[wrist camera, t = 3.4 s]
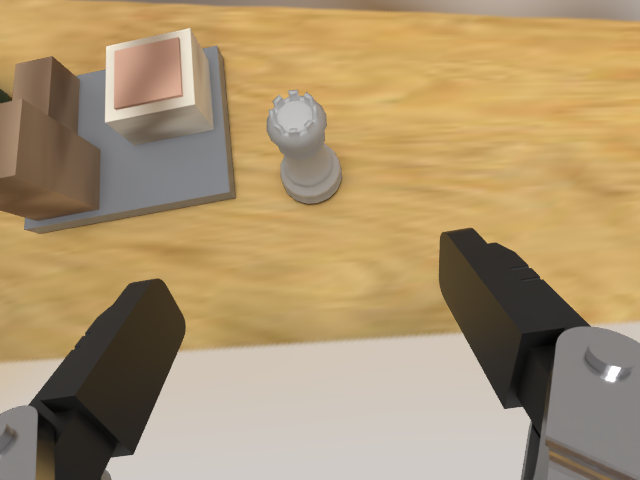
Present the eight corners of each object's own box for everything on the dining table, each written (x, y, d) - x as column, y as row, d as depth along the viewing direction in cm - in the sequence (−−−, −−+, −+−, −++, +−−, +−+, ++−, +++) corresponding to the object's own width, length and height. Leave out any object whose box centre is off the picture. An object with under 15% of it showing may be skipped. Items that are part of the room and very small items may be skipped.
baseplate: (39, 233, 25) (24, 229, 24) (49, 93, 28) (35, 84, 27) (235, 197, 24) (229, 191, 23) (222, 57, 27) (217, 45, 26)
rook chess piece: (354, 182, 23) (355, 116, 15) (305, 217, 23) (281, 169, 15) (319, 140, 24) (303, 58, 16) (272, 173, 24) (233, 106, 16)
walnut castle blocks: (36, 221, 24) (-67, 190, 18) (46, 87, 26) (-40, 23, 21) (99, 209, 23) (15, 175, 17) (102, 75, 26) (30, 7, 20)
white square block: (134, 145, 24) (102, 120, 21) (133, 76, 26) (104, 44, 23) (214, 129, 24) (193, 102, 21) (208, 60, 25) (188, 25, 22)
